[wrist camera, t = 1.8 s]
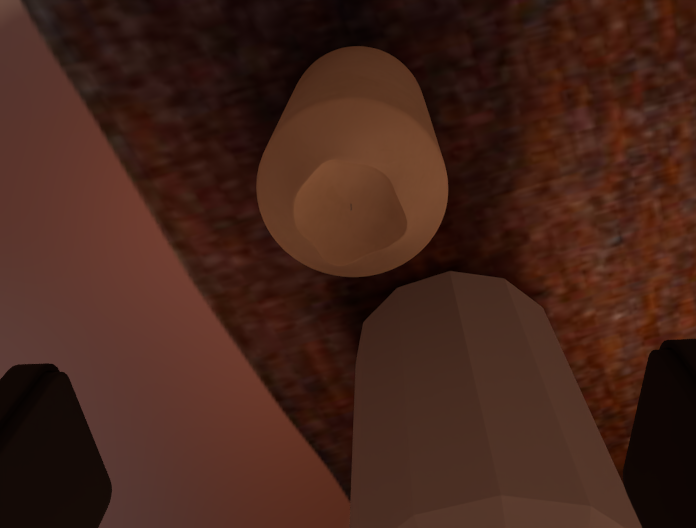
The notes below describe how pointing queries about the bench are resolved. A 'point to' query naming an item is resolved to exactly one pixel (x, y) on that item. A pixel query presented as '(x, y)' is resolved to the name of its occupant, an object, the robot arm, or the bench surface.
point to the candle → (353, 167)
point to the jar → (474, 417)
